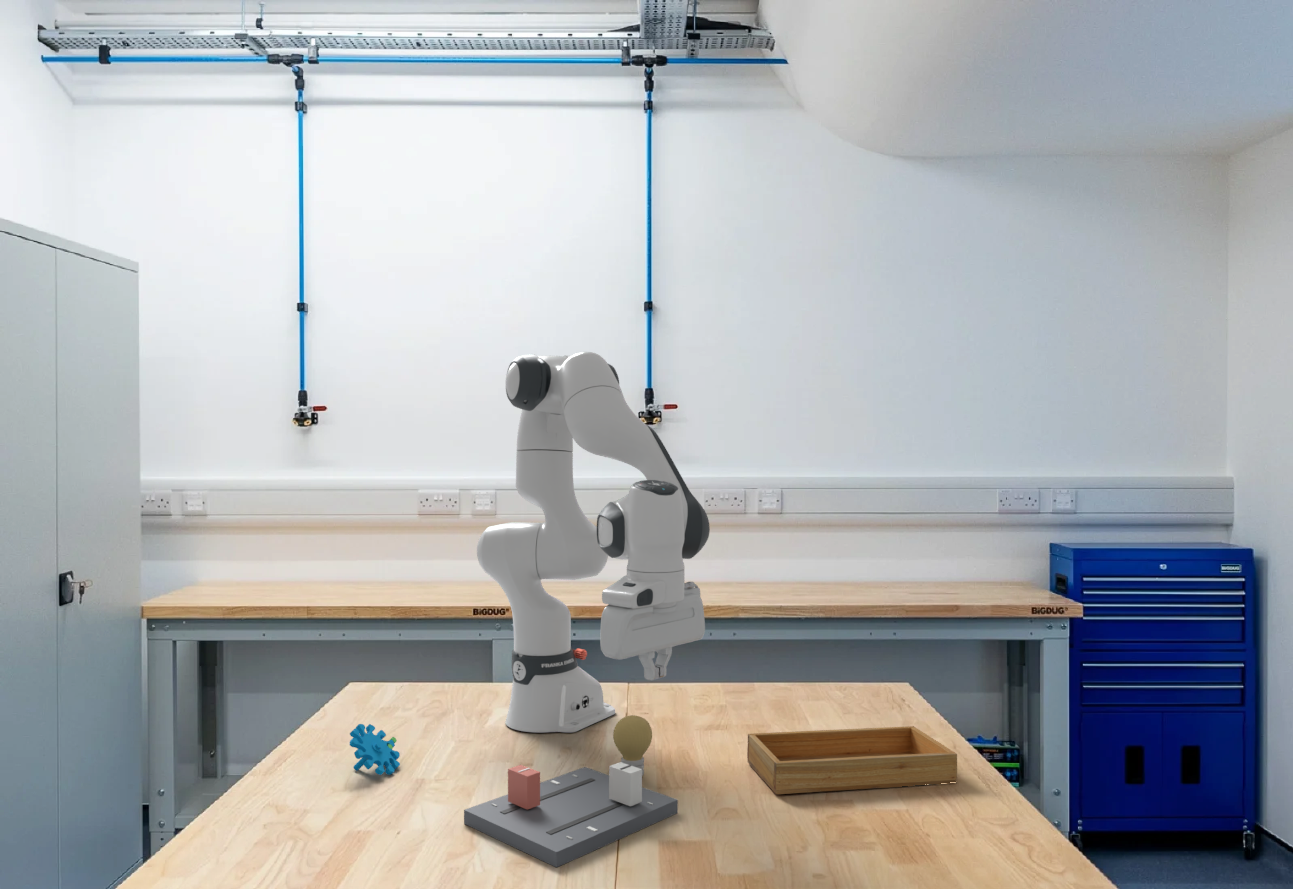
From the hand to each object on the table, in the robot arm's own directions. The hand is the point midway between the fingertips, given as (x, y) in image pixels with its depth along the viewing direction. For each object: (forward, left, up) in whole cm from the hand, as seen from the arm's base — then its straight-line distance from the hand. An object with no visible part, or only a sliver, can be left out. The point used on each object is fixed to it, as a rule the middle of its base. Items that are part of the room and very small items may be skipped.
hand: (655, 678), depth 142 cm
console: (+13, -5, -19) cm, 23 cm away
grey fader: (+6, 0, -17) cm, 18 cm away
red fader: (+17, -10, -17) cm, 26 cm away
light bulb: (-5, -10, -19) cm, 22 cm away
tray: (-31, +15, -20) cm, 40 cm away
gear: (+22, -43, -19) cm, 52 cm away
